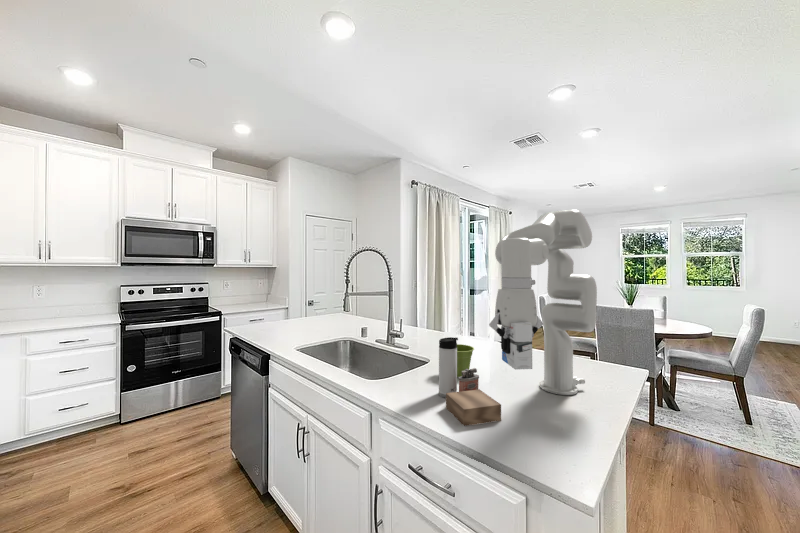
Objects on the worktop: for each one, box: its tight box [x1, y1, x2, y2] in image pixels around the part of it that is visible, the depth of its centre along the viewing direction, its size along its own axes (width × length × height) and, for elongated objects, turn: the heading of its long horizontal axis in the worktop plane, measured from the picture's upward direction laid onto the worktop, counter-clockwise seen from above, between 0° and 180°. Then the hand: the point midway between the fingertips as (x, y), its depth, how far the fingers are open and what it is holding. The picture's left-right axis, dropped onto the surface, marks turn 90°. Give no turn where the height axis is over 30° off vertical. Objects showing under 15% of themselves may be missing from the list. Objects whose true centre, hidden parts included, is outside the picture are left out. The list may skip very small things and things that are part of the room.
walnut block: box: [445, 388, 502, 427], centre depth 96 cm, size 12×12×5 cm
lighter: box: [457, 367, 480, 392], centre depth 107 cm, size 8×3×10 cm, turn 117°
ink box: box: [501, 322, 533, 370], centre depth 84 cm, size 8×5×12 cm, turn 5°
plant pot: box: [457, 343, 475, 378], centre depth 131 cm, size 12×12×11 cm
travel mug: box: [438, 337, 459, 399], centre depth 110 cm, size 6×7×20 cm
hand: (516, 351), depth 84 cm, fingers closed on ink box, 5 cm apart
